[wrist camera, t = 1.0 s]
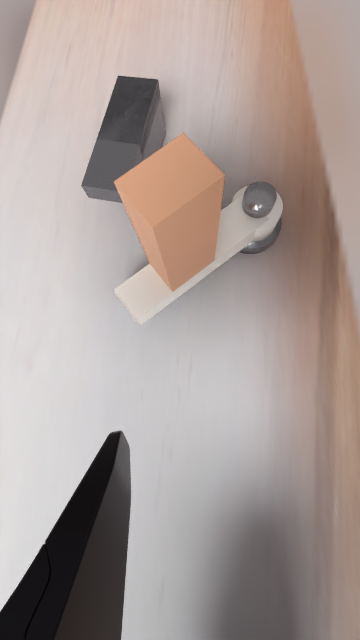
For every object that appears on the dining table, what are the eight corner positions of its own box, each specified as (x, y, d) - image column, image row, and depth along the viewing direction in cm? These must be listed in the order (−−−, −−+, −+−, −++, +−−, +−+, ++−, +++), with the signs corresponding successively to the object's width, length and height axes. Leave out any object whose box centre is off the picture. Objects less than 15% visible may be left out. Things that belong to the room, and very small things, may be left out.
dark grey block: (165, 133, 27) (157, 79, 22) (139, 228, 25) (124, 192, 20) (132, 129, 27) (118, 75, 22) (104, 222, 25) (81, 185, 20)
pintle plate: (276, 256, 23) (293, 228, 19) (218, 251, 24) (223, 223, 19) (279, 205, 24) (296, 169, 20) (224, 201, 25) (229, 165, 20)
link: (254, 191, 23) (299, 40, 13) (285, 223, 23) (360, 88, 12) (117, 293, 22) (43, 218, 12) (144, 330, 22) (91, 285, 11)
